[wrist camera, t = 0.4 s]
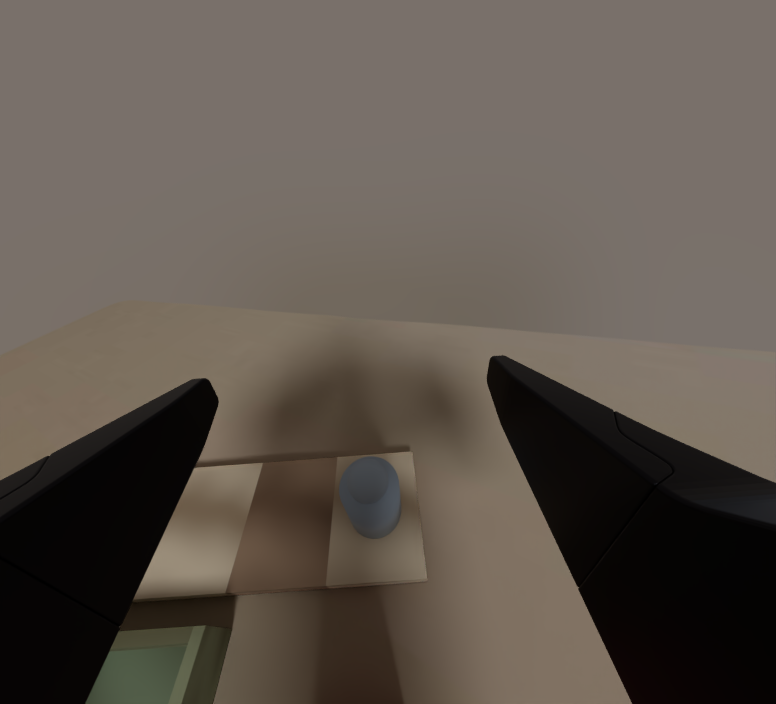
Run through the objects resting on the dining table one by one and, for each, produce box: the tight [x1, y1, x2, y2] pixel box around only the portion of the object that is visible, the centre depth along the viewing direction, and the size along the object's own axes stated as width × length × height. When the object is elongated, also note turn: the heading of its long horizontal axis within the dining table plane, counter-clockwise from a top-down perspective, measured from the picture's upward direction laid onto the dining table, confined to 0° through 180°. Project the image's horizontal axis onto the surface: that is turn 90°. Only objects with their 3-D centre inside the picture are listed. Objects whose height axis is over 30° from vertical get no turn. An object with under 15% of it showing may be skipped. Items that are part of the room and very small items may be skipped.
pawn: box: [339, 456, 401, 539], centre depth 18 cm, size 4×4×6 cm
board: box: [132, 451, 427, 603], centre depth 20 cm, size 8×24×1 cm, turn 93°
